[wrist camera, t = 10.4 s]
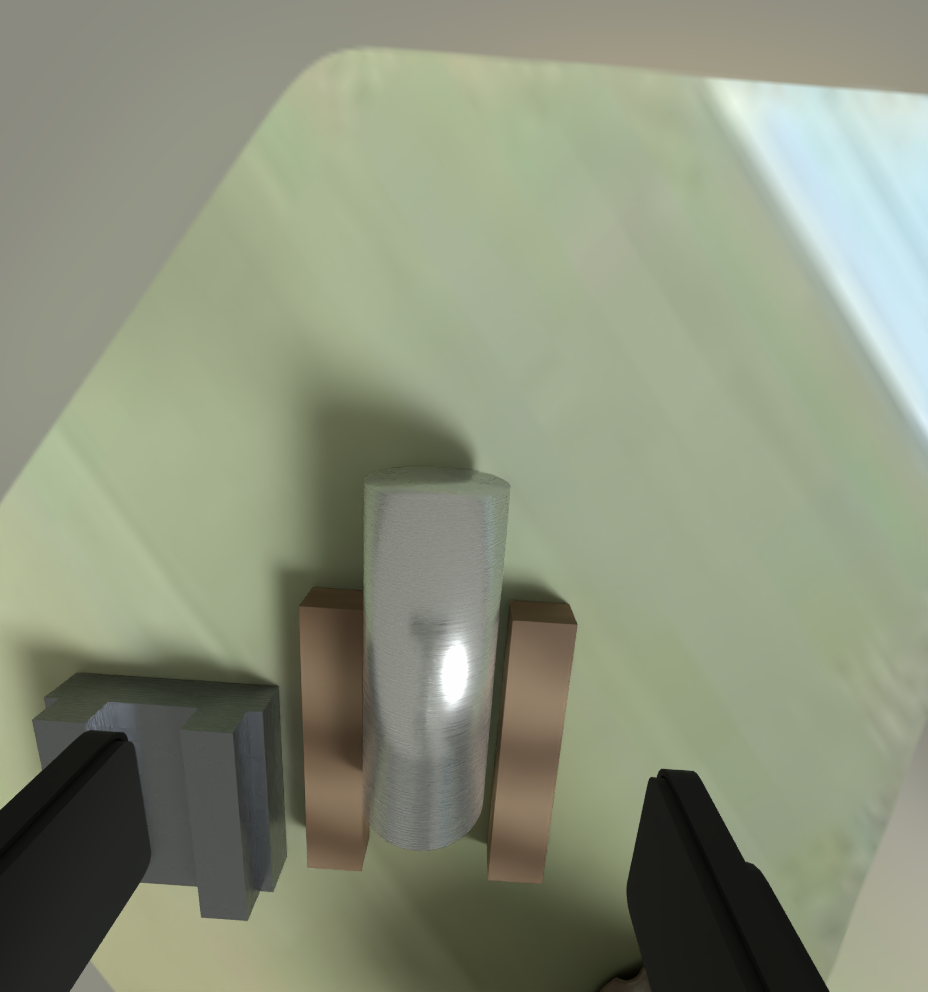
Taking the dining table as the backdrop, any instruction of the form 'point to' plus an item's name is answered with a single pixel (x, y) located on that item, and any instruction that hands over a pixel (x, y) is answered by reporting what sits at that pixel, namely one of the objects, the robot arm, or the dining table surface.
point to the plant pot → (629, 984)
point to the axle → (429, 648)
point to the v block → (191, 776)
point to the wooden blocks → (519, 749)
